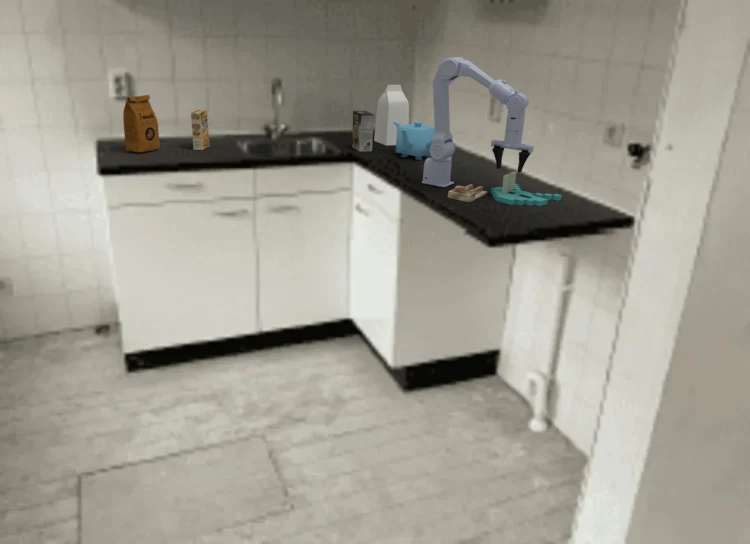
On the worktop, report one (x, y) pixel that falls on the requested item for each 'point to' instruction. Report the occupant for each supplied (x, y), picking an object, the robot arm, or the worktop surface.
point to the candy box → (200, 129)
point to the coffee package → (140, 125)
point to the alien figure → (522, 197)
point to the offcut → (461, 189)
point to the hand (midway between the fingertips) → (509, 170)
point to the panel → (509, 182)
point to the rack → (465, 197)
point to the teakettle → (414, 139)
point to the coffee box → (362, 130)
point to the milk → (391, 114)
